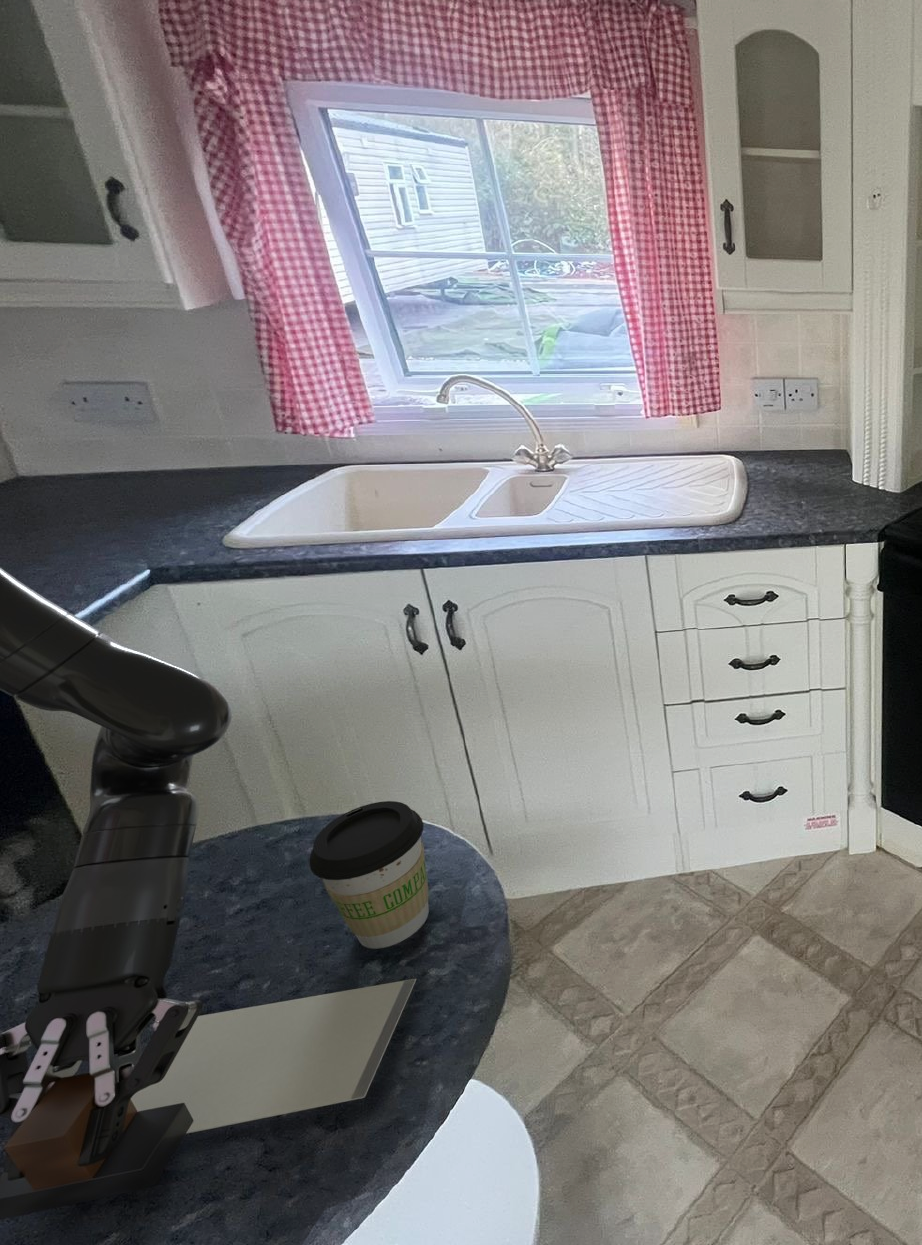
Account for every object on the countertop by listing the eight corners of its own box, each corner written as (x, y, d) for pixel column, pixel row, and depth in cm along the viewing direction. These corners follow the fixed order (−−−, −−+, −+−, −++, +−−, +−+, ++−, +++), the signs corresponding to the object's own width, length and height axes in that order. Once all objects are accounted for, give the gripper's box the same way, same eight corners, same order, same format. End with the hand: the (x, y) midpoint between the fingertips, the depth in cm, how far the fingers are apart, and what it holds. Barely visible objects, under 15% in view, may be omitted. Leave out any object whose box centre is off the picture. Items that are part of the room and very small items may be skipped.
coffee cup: (357, 989, 80) (317, 882, 75) (332, 934, 86) (293, 830, 80) (461, 930, 87) (433, 827, 82) (432, 882, 93) (403, 784, 87)
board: (97, 1163, 65) (90, 1153, 64) (190, 1028, 76) (185, 1018, 75) (368, 1108, 70) (364, 1097, 69) (419, 988, 81) (416, 978, 80)
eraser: (-6, 1221, 59) (-54, 1158, 56) (47, 1149, 63) (6, 1087, 60) (154, 1187, 61) (116, 1125, 58) (194, 1120, 66) (162, 1059, 63)
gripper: (-30, 939, 60) (-113, 1214, 54) (189, 909, 63) (136, 1163, 57) (52, 931, 67) (-13, 1174, 60) (246, 904, 70) (204, 1131, 64)
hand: (60, 1167), depth 59 cm, fingers closed on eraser, 3 cm apart
